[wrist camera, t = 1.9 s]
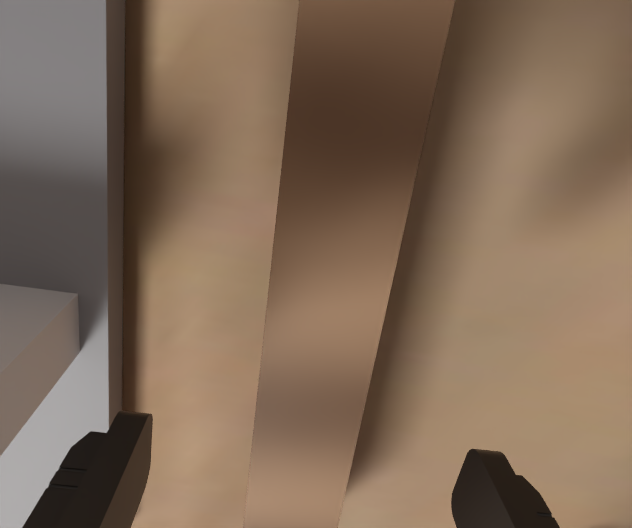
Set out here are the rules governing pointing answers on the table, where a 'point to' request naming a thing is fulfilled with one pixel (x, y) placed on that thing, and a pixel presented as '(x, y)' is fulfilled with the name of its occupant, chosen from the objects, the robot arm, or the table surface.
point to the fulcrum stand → (58, 236)
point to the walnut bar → (337, 242)
